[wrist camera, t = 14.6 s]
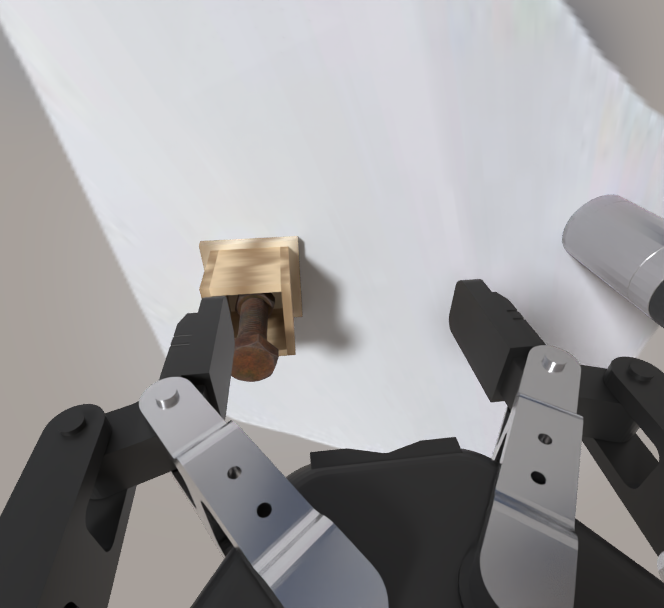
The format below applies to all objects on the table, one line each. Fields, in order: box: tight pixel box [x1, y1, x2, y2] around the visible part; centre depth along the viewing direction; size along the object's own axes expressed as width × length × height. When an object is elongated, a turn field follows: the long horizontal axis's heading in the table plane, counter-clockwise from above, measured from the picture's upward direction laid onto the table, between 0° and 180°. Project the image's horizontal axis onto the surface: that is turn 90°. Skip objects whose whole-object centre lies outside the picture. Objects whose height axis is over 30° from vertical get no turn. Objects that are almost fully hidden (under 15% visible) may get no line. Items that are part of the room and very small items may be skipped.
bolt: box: [231, 292, 279, 382], centre depth 45 cm, size 6×5×15 cm
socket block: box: [199, 236, 302, 356], centre depth 48 cm, size 12×12×10 cm
